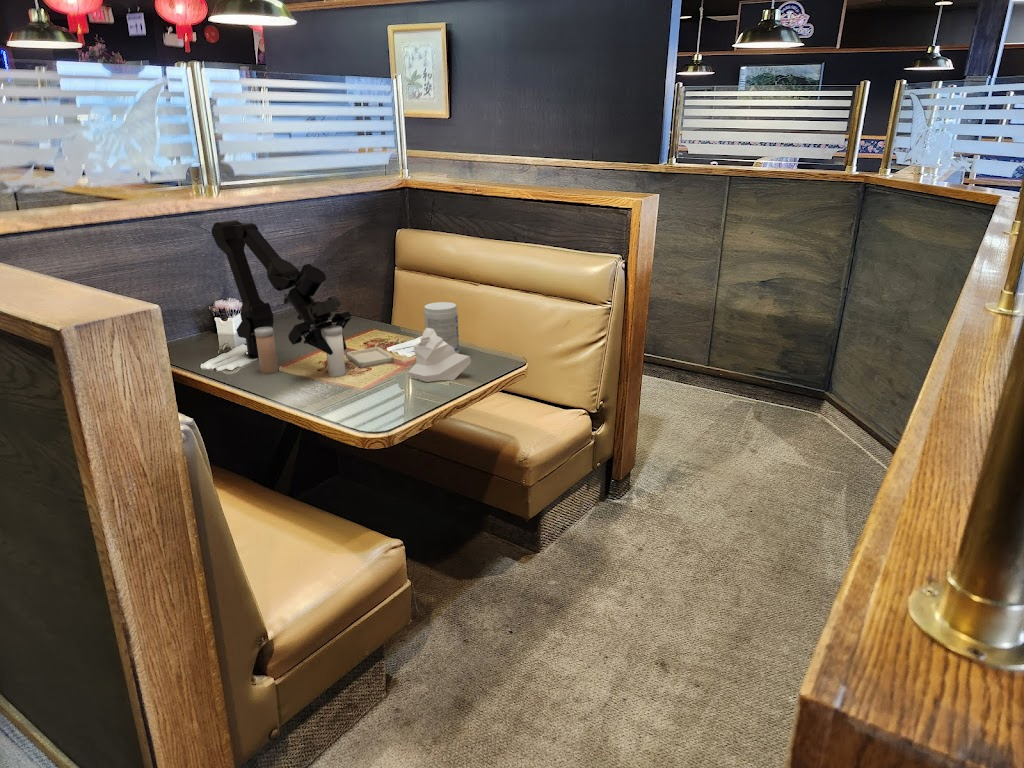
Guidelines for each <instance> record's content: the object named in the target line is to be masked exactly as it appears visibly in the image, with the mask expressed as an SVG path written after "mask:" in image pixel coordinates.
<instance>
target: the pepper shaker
mask: <svg viewBox="0 0 1024 768" xmlns="http://www.w3.org/2000/svg"><path fill="white" fill-rule="evenodd" d="M255 336H256V342H257V349H258V356H259V357H258V362H259V371H260V373H261V374H265V373H269V374H274V373H277V372H279V367H278V366H279V365H278V359H277V351H276V343H275V337H274V336H275V335H274V327H273V328H272V327H259V328H256V329H255ZM276 371H277V372H276ZM273 372H274V373H273ZM265 375H266V374H265Z"/></svg>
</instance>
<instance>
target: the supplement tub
mask: <svg viewBox="0 0 1024 768" xmlns="http://www.w3.org/2000/svg"><path fill="white" fill-rule="evenodd" d="M423 307H424V314H423V316H424V327H425V329H426V328H431V329H434V331H435V332H436V335H437V336H439V337H440V338H442V339H443V341H444V342H446V343H447V344H448V345H450V346H452V347H453V348H454V350H455V352H456V353H458V354H460V338H459V337H460V336H459V317H458V308H457V307H458V306H457V304H456V303H454V302H449V301H438V302H431V303H428V304H425V305H424V306H423ZM425 329H424V330H425Z"/></svg>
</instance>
